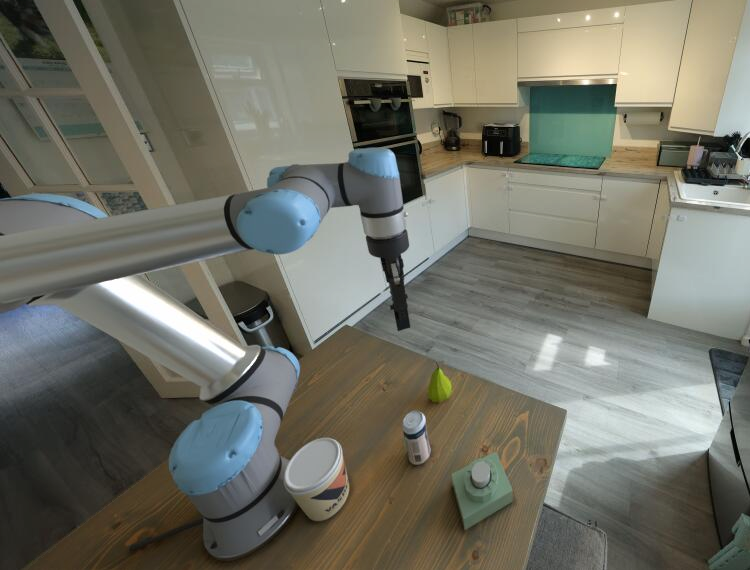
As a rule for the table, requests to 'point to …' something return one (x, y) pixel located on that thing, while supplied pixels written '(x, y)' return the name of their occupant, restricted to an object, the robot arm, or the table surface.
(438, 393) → the fruit
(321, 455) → the ice cream tub
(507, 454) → the table surface
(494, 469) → the grey button cap base
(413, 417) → the beer can
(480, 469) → the grey button cap
